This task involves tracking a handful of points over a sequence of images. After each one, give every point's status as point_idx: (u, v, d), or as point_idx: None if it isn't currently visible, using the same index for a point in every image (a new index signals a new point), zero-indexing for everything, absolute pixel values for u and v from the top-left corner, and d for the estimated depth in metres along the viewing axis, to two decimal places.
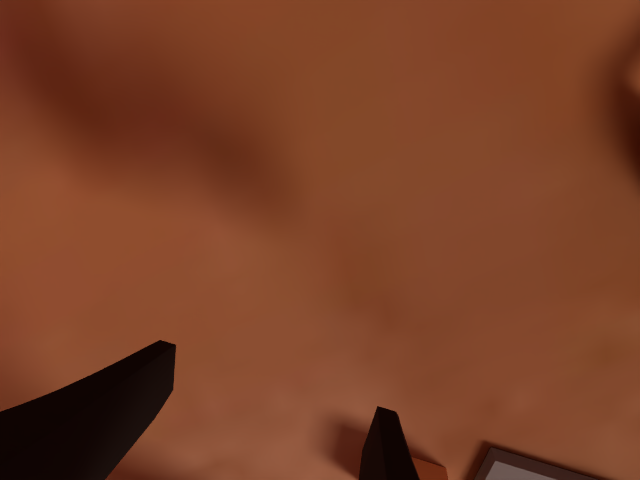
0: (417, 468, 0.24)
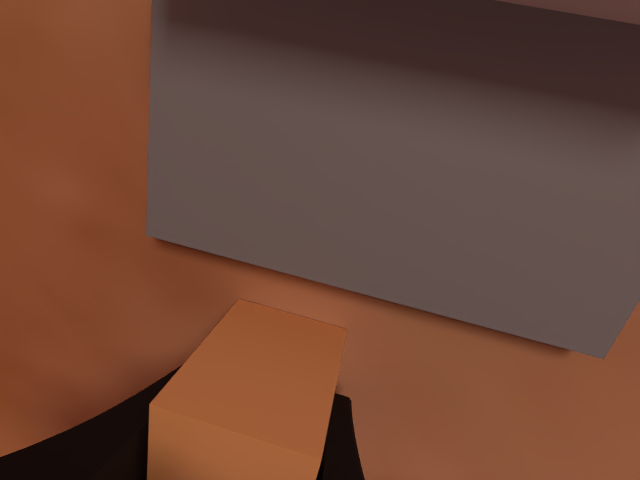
0: None
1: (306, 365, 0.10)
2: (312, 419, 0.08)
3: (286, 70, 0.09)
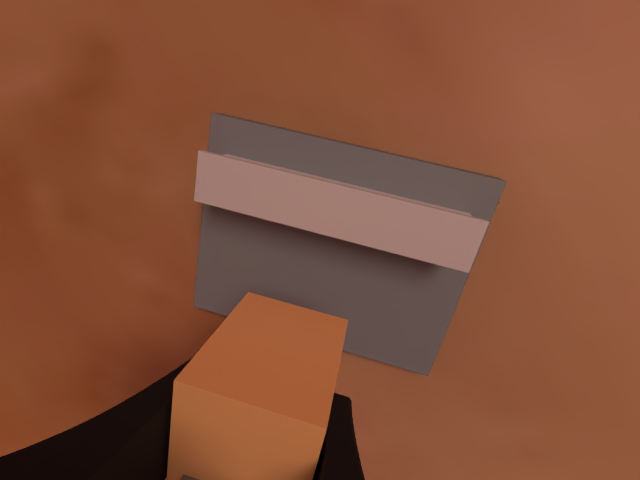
0: None
1: (311, 350, 0.11)
2: (318, 395, 0.09)
3: (268, 236, 0.18)
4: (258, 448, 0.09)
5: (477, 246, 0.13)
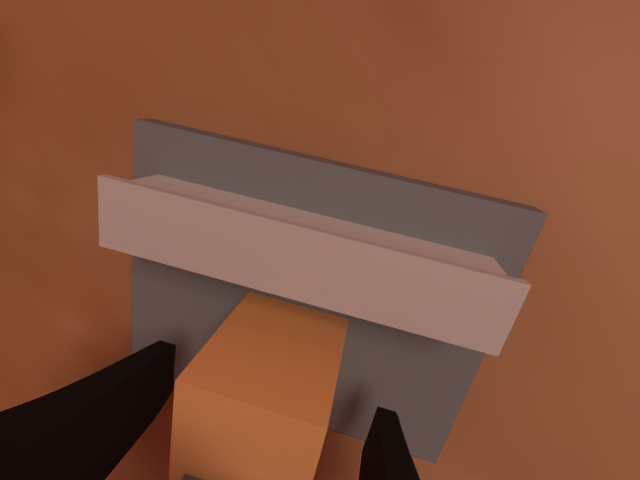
0: None
1: (312, 350, 0.11)
2: (318, 395, 0.09)
3: (219, 282, 0.13)
4: (259, 448, 0.09)
5: (512, 320, 0.09)
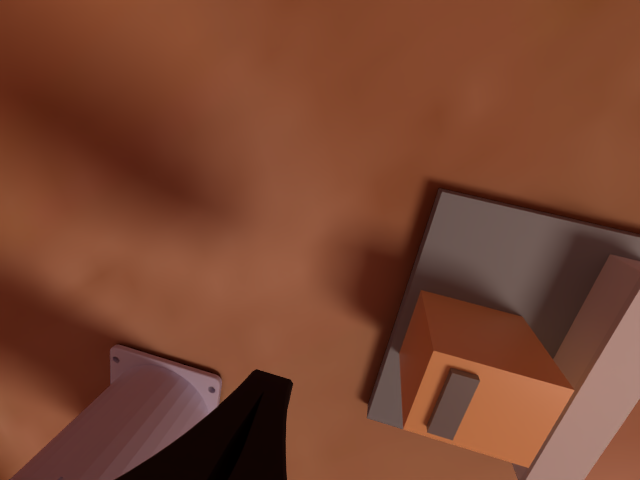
0: (483, 313, 0.16)
1: None
2: None
3: (533, 295, 0.16)
4: (509, 429, 0.13)
5: None
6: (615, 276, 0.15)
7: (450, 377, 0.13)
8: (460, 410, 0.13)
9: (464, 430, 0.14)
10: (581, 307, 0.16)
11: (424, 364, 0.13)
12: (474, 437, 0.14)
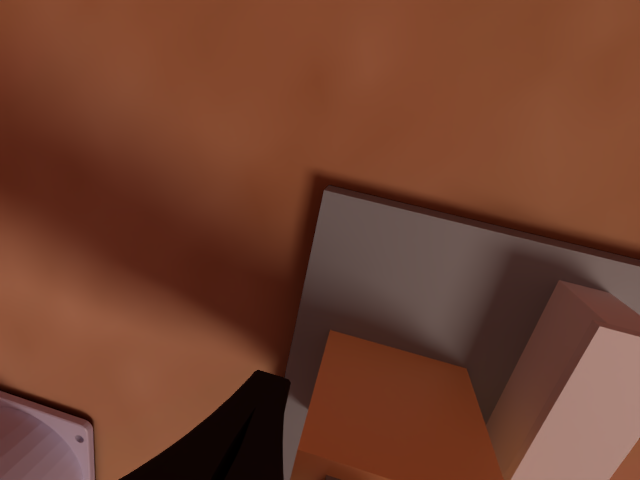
0: (409, 366, 0.12)
1: None
2: None
3: (457, 334, 0.12)
4: None
5: None
6: (563, 314, 0.10)
7: None
8: None
9: None
10: (522, 352, 0.11)
11: None
12: None
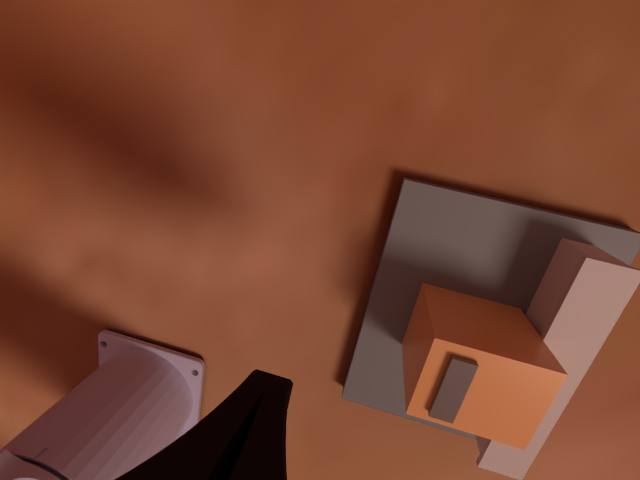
0: (482, 305, 0.17)
1: None
2: None
3: (492, 277, 0.17)
4: (506, 412, 0.14)
5: (501, 473, 0.17)
6: (565, 258, 0.15)
7: (450, 363, 0.13)
8: (460, 394, 0.14)
9: (464, 414, 0.14)
10: (537, 289, 0.17)
11: (425, 352, 0.14)
12: (473, 421, 0.14)
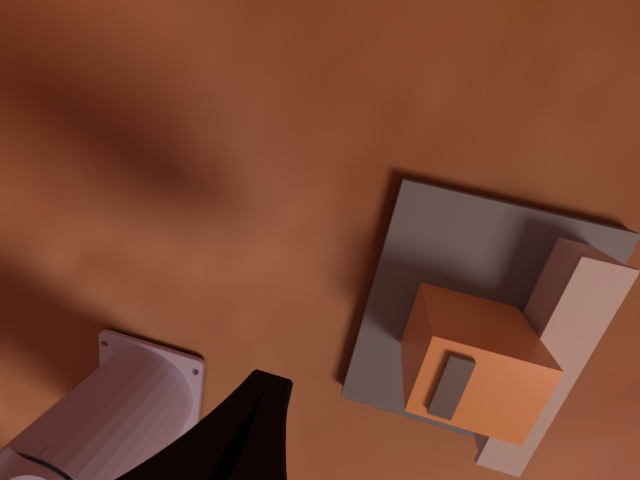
0: (480, 304, 0.17)
1: None
2: None
3: (490, 277, 0.17)
4: (503, 410, 0.14)
5: (499, 470, 0.18)
6: (561, 257, 0.16)
7: (448, 360, 0.13)
8: (457, 391, 0.14)
9: (462, 411, 0.14)
10: (534, 288, 0.17)
11: (424, 350, 0.14)
12: (471, 418, 0.14)
